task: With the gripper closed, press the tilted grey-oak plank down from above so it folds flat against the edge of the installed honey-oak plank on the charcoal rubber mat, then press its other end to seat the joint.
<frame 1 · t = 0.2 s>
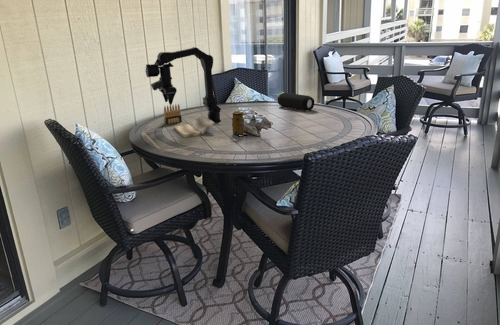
hand: (168, 103, 231), 14 cm above the table, tool pointing down, fingers open, 9 cm apart
loose plank: (201, 124, 224), point 4 cm above the table, hinge at 30.0°
condiment: (238, 135, 217), on the table
underlay mat: (193, 132, 223), on the table
portable speaker: (295, 109, 275), on the table
ammunition clip: (173, 124, 243), on the table
installed plank: (186, 132, 221), resting on underlay mat
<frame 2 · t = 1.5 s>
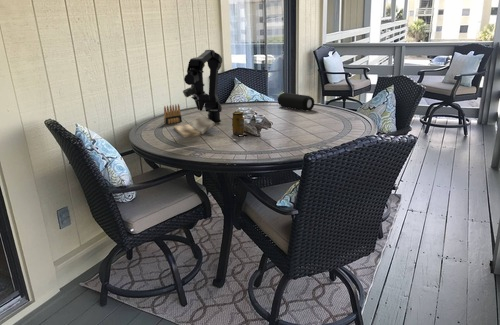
hand: (199, 110, 226), 11 cm above the table, tool pointing down, fingers open, 3 cm apart
nothing on the table moved.
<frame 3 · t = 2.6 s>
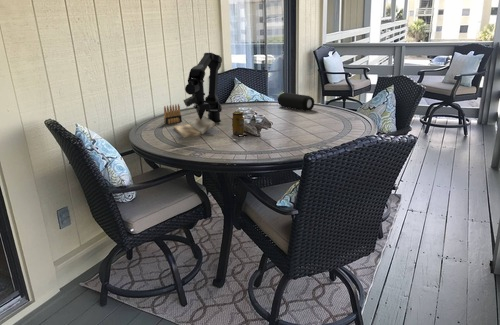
hand: (200, 119, 228), 6 cm above the table, tool pointing down, fingers closed, pressing on loose plank
loose plank: (201, 124, 224), point 4 cm above the table, hinge at 30.0°, touching gripper
everything else where it was.
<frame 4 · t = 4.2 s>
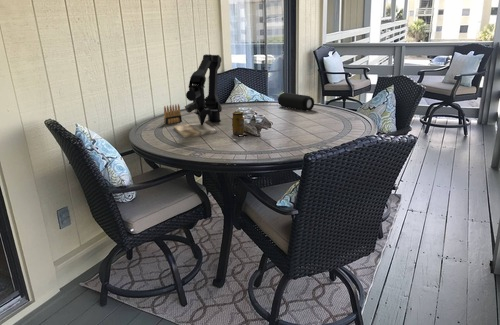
hand: (202, 124, 229), 3 cm above the table, tool pointing down, fingers closed
loose plank: (202, 128, 225), point 2 cm above the table, hinge at -0.7°, touching underlay mat
everything else where it was.
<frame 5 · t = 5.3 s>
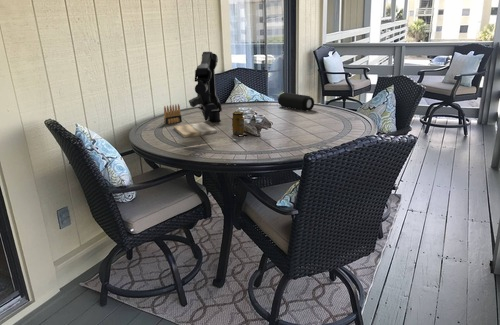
hand: (206, 120, 219), 7 cm above the table, tool pointing down, fingers closed
nothing on the table moved.
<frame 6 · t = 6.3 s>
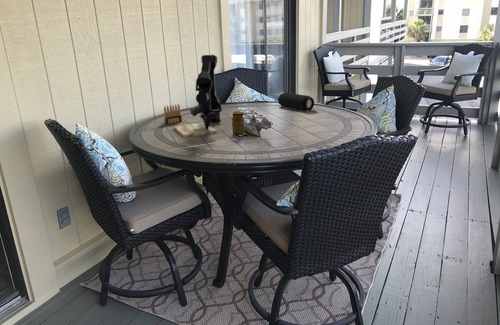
hand: (206, 128, 221), 3 cm above the table, tool pointing down, fingers closed, pressing on loose plank
loose plank: (202, 128, 225), point 2 cm above the table, hinge at -0.7°, touching gripper, underlay mat
everything else where it was.
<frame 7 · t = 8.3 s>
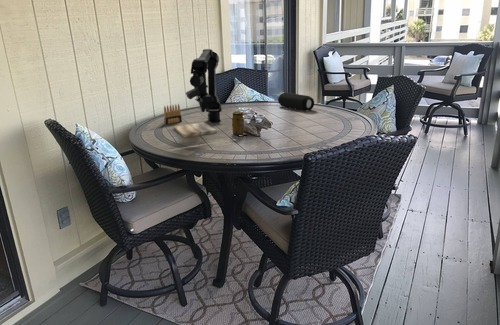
hand: (203, 112, 222), 11 cm above the table, tool pointing down, fingers closed
loose plank: (202, 128, 225), point 2 cm above the table, hinge at -0.7°, touching underlay mat
everything else where it was.
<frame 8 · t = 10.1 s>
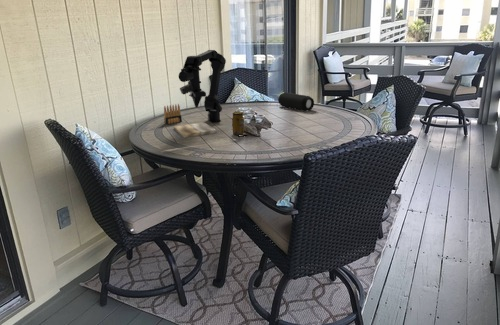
hand: (196, 107, 229), 12 cm above the table, tool pointing down, fingers closed
nothing on the table moved.
at the end: loose plank at -1° (first picture: +30°) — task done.
